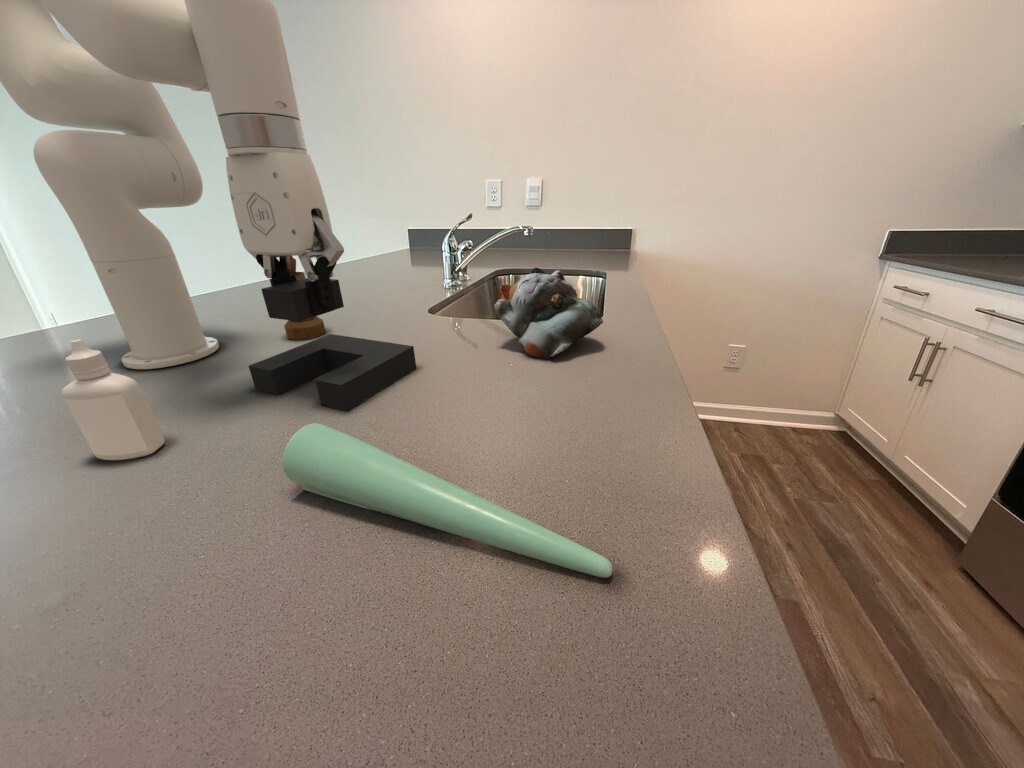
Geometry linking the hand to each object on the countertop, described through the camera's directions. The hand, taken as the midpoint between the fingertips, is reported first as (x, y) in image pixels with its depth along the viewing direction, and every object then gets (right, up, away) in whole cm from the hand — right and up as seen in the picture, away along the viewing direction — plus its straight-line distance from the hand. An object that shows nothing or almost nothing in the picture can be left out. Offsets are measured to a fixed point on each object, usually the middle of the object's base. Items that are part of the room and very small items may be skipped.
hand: (307, 309), depth 50 cm
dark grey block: (0, 0, 0) cm, 0 cm away
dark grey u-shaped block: (+1, -9, +7) cm, 11 cm away
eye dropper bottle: (-14, -16, -9) cm, 23 cm away
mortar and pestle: (-13, 0, +25) cm, 29 cm away
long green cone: (+20, -20, -18) cm, 34 cm away
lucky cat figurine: (+31, -3, +17) cm, 36 cm away
